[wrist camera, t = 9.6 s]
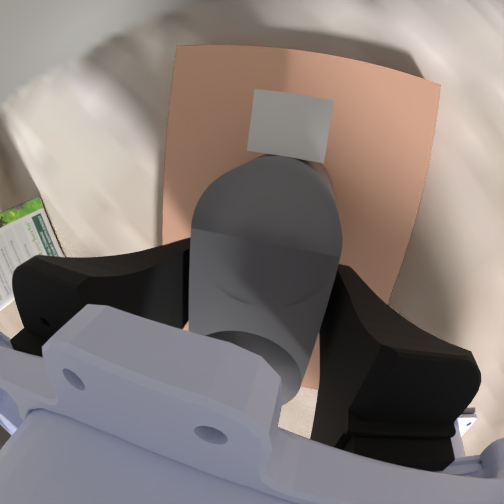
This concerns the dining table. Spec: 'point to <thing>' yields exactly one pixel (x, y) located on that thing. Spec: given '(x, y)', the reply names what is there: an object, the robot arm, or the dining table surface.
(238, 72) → the terracotta tile
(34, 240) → the syrup box
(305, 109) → the block
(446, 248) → the dining table surface
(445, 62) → the dining table surface
